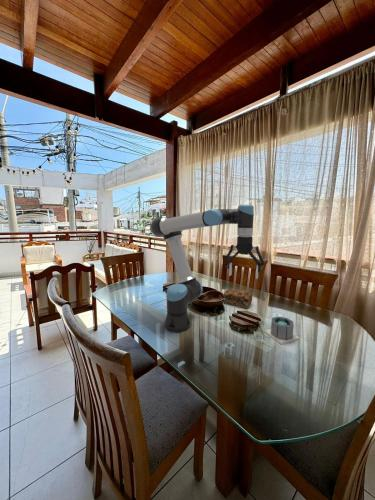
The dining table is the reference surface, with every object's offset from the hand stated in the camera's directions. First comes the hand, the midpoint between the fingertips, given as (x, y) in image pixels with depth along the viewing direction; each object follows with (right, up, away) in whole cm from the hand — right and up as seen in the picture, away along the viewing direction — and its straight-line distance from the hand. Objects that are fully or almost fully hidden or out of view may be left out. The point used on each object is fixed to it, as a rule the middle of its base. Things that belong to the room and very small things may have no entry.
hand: (243, 276), depth 112 cm
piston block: (+21, -32, +2) cm, 38 cm away
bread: (+7, -25, +42) cm, 49 cm away
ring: (+21, -31, +2) cm, 37 cm away
